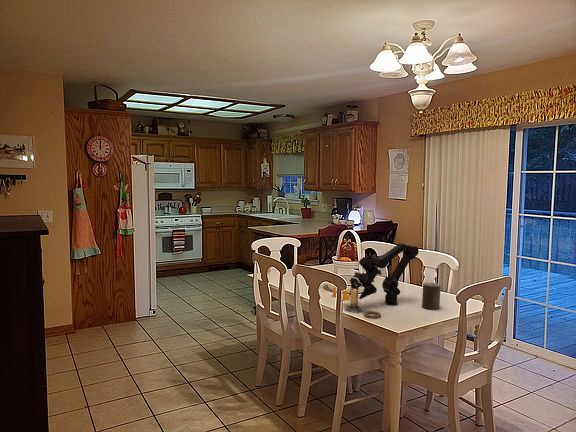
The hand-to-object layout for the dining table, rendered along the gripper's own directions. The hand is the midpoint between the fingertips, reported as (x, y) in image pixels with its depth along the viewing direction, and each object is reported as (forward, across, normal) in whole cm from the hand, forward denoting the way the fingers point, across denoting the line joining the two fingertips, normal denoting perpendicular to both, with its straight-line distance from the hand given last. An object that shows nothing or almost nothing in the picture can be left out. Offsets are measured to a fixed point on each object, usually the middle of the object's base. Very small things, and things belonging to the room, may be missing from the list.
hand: (354, 297), depth 244 cm
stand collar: (+4, +14, +6) cm, 16 cm away
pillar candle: (-24, +17, +36) cm, 46 cm away
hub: (+5, 0, +5) cm, 7 cm away
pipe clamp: (0, -23, +11) cm, 26 cm away
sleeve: (+5, 0, +5) cm, 7 cm away
